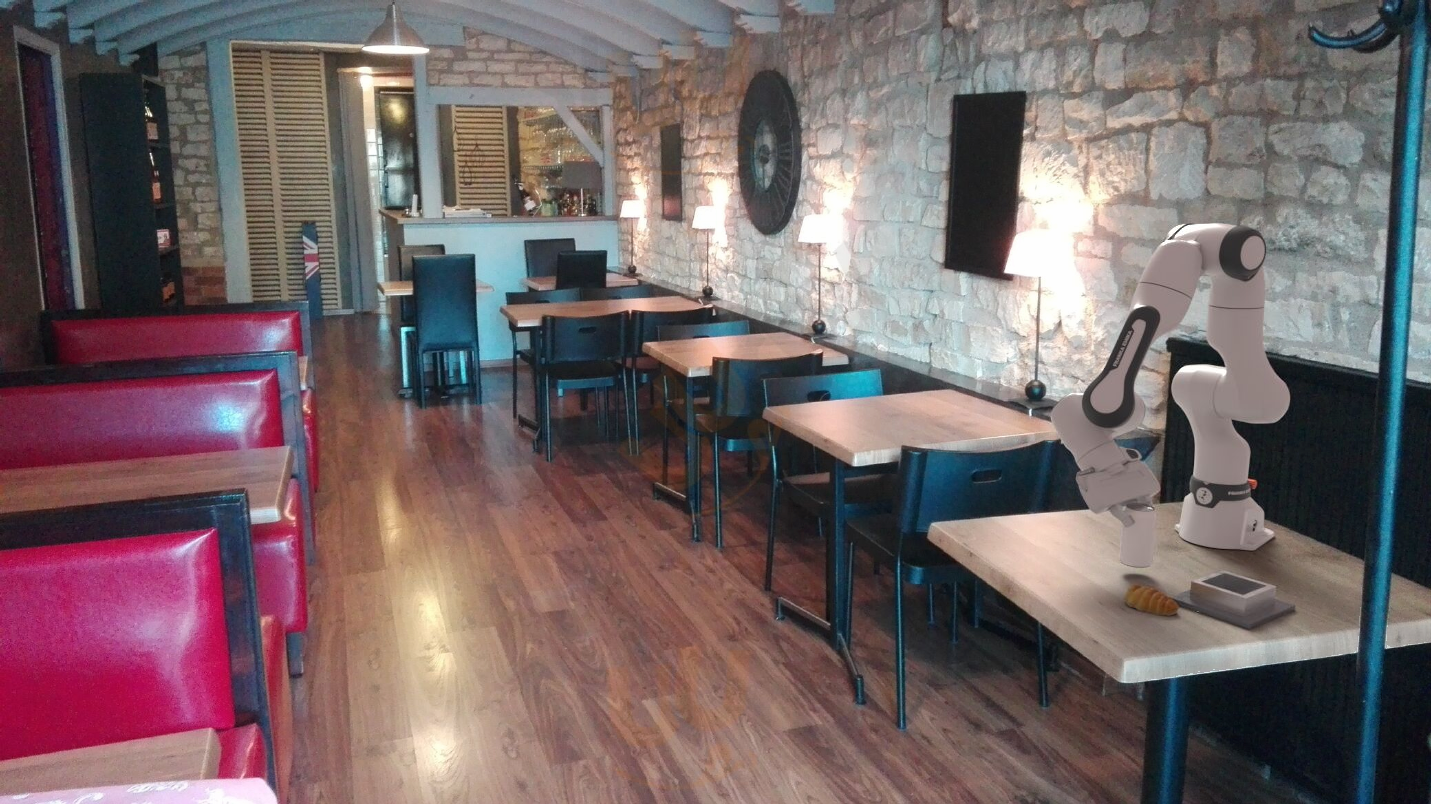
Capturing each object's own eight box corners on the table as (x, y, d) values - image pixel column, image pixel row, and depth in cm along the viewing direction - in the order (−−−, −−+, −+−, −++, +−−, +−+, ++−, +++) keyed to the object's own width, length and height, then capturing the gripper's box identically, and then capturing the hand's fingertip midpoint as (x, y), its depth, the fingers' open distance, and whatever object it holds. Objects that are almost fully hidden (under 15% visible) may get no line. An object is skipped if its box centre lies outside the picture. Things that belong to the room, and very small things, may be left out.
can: (1155, 569, 225) (1160, 512, 223) (1121, 567, 226) (1126, 510, 224) (1149, 559, 231) (1154, 503, 229) (1116, 556, 232) (1121, 501, 230)
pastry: (1184, 612, 210) (1186, 593, 209) (1167, 621, 205) (1169, 602, 205) (1137, 598, 217) (1139, 579, 216) (1119, 606, 212) (1121, 587, 212)
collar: (1214, 585, 223) (1217, 563, 222) (1294, 610, 211) (1297, 587, 210) (1168, 602, 214) (1170, 580, 213) (1249, 629, 201) (1252, 606, 200)
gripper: (1082, 464, 224) (1121, 523, 218) (1142, 449, 236) (1181, 504, 230) (1062, 481, 228) (1100, 539, 223) (1122, 465, 240) (1160, 520, 234)
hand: (1142, 521), depth 226 cm, fingers closed on can, 6 cm apart
